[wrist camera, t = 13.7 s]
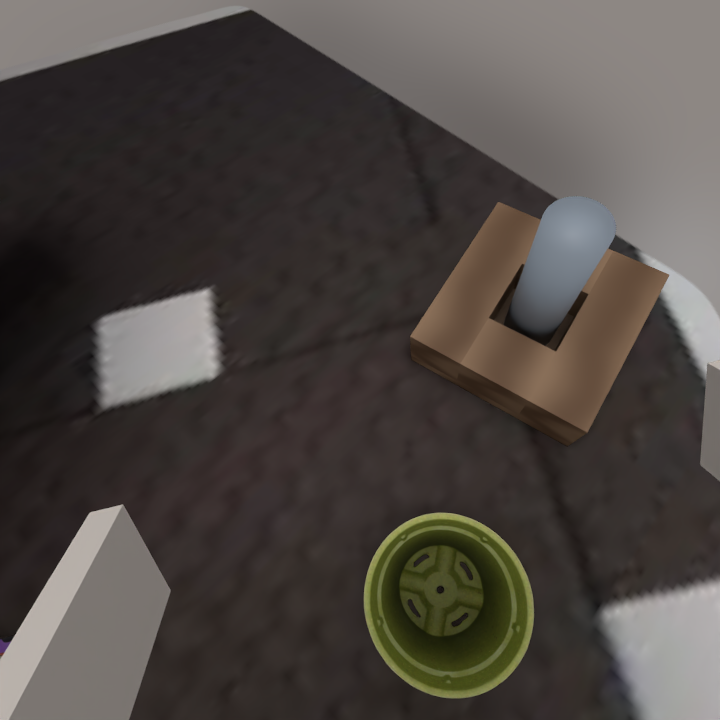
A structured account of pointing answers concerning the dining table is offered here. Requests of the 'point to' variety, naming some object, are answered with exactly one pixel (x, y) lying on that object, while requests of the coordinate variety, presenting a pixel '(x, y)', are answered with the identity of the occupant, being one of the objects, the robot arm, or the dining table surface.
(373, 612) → the plant pot
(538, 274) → the dowel
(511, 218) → the bore block
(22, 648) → the robot arm
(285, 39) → the dining table surface
